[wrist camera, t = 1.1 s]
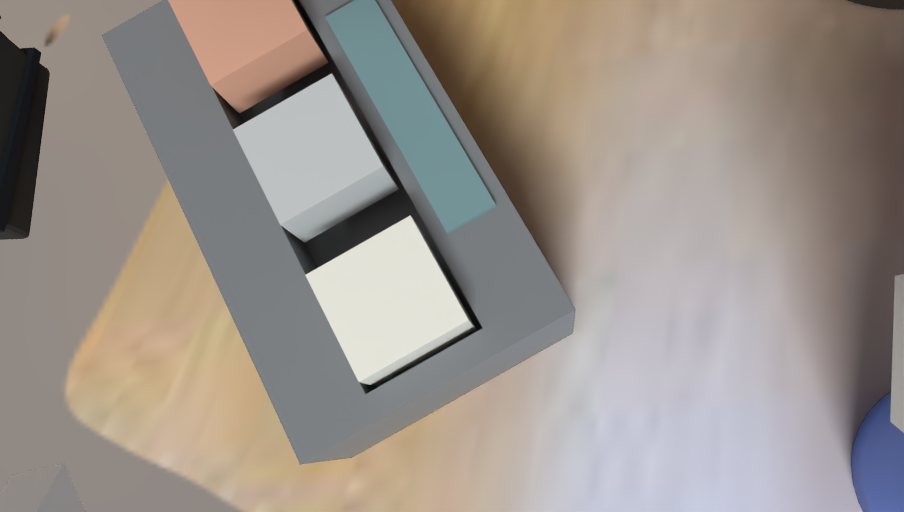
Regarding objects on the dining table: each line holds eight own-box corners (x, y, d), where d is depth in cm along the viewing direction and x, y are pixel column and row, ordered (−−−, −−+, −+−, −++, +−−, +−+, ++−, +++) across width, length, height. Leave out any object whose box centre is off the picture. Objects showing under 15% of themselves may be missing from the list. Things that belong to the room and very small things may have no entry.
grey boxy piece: (180, 102, 45) (98, 32, 37) (371, -7, 45) (330, -102, 37) (351, 457, 40) (297, 464, 31) (572, 333, 39) (575, 308, 31)
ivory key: (327, 288, 35) (305, 274, 32) (423, 234, 35) (410, 215, 32) (377, 386, 34) (358, 382, 31) (477, 330, 34) (468, 319, 31)
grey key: (260, 155, 37) (232, 129, 34) (351, 103, 37) (331, 73, 34) (304, 242, 36) (280, 224, 32) (398, 189, 36) (383, 166, 32)
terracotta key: (199, 34, 39) (167, 0, 36) (285, -15, 39) (261, -54, 36) (239, 113, 38) (210, 85, 34) (328, 62, 37) (307, 29, 34)
